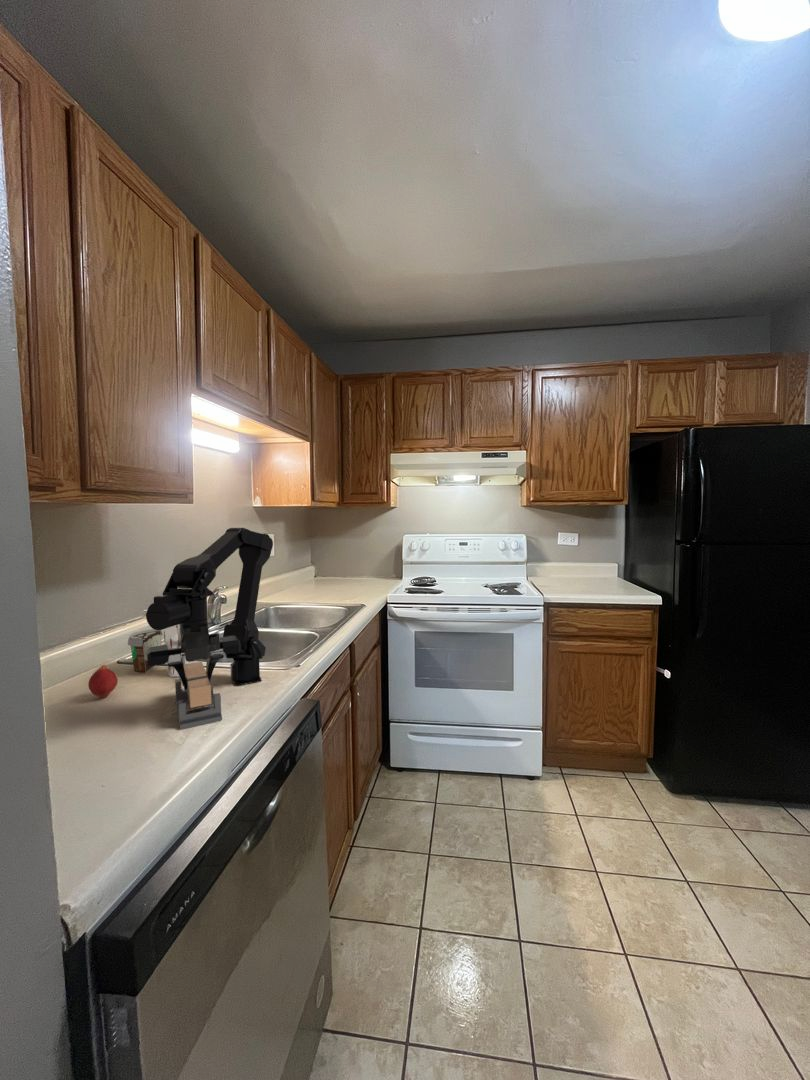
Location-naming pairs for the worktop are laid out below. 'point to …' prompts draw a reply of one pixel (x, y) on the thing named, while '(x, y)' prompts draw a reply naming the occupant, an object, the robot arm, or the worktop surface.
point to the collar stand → (196, 708)
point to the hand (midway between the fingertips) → (196, 687)
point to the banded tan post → (197, 685)
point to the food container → (143, 648)
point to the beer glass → (173, 645)
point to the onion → (102, 682)
